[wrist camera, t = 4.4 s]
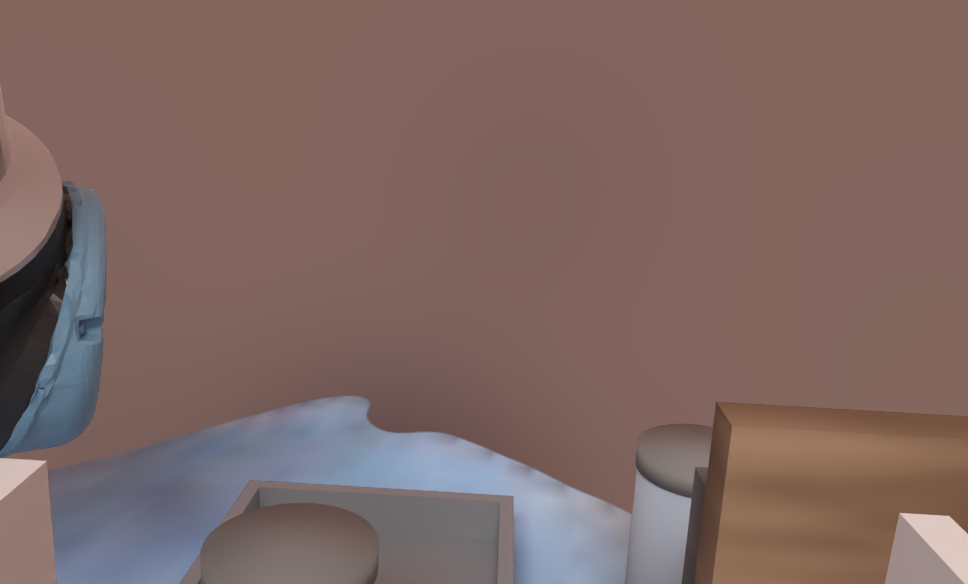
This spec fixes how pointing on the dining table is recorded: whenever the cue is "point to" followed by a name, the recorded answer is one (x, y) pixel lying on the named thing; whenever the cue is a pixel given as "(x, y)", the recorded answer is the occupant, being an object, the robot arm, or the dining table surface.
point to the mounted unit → (818, 492)
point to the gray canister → (664, 500)
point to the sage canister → (292, 547)
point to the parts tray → (409, 530)
